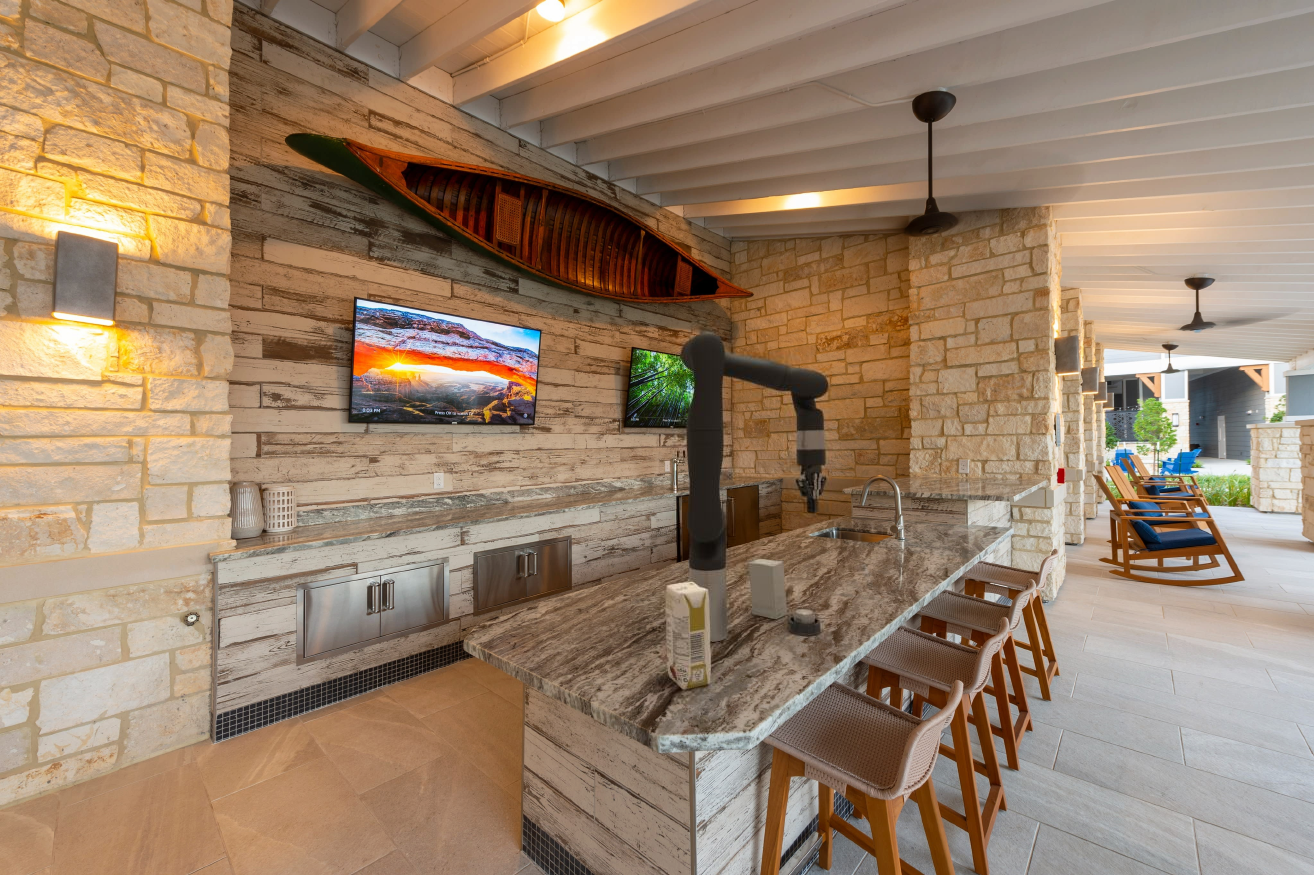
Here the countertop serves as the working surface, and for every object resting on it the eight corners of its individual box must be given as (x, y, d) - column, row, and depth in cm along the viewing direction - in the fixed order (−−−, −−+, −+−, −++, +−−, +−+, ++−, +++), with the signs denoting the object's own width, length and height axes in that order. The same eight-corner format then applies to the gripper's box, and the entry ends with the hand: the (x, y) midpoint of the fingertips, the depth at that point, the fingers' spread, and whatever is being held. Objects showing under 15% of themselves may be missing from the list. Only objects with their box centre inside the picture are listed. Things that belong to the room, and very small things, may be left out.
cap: (808, 633, 129) (807, 616, 129) (789, 628, 133) (789, 612, 133) (819, 627, 133) (818, 611, 133) (801, 622, 137) (800, 607, 137)
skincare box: (787, 615, 145) (786, 561, 145) (775, 620, 141) (773, 565, 141) (762, 608, 151) (760, 557, 151) (749, 614, 147) (748, 560, 147)
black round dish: (796, 637, 129) (795, 626, 129) (783, 626, 136) (783, 616, 136) (825, 634, 130) (825, 624, 130) (812, 624, 138) (811, 614, 138)
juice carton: (681, 693, 101) (679, 594, 102) (663, 675, 109) (661, 584, 109) (715, 685, 104) (713, 589, 105) (695, 668, 112) (693, 579, 112)
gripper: (811, 448, 133) (813, 516, 132) (835, 447, 142) (837, 511, 142) (785, 448, 138) (786, 514, 138) (810, 447, 147) (811, 509, 147)
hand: (812, 512), depth 140 cm, fingers closed
